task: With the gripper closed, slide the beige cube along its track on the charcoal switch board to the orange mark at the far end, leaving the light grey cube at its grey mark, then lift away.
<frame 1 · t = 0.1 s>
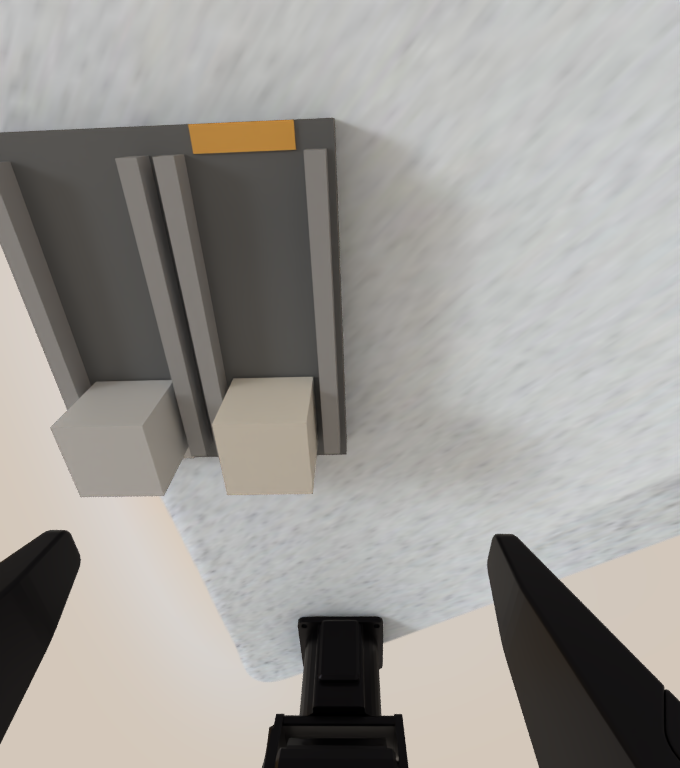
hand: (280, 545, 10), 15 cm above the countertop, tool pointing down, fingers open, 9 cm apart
switch board: (201, 310, 22), on the countertop
light grey cube: (128, 436, 22), point 4 cm above the countertop, slide at 0.0 cm
beige cube: (271, 433, 22), point 4 cm above the countertop, slide at 0.0 cm
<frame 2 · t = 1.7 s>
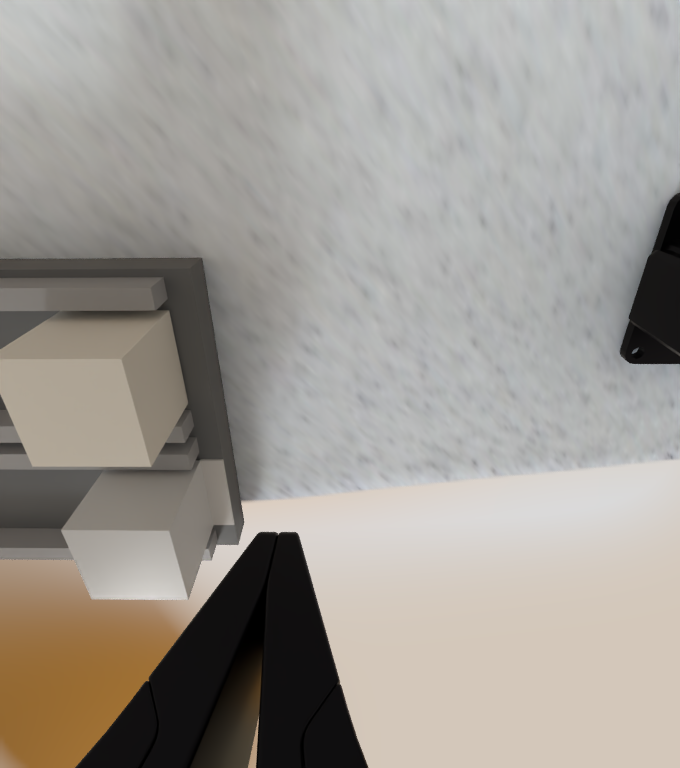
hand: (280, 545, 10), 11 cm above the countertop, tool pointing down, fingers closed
switch board: (53, 412, 21), on the countertop
light grey cube: (147, 527, 19), point 4 cm above the countertop, slide at 0.0 cm
beige cube: (103, 384, 16), point 4 cm above the countertop, slide at 0.0 cm
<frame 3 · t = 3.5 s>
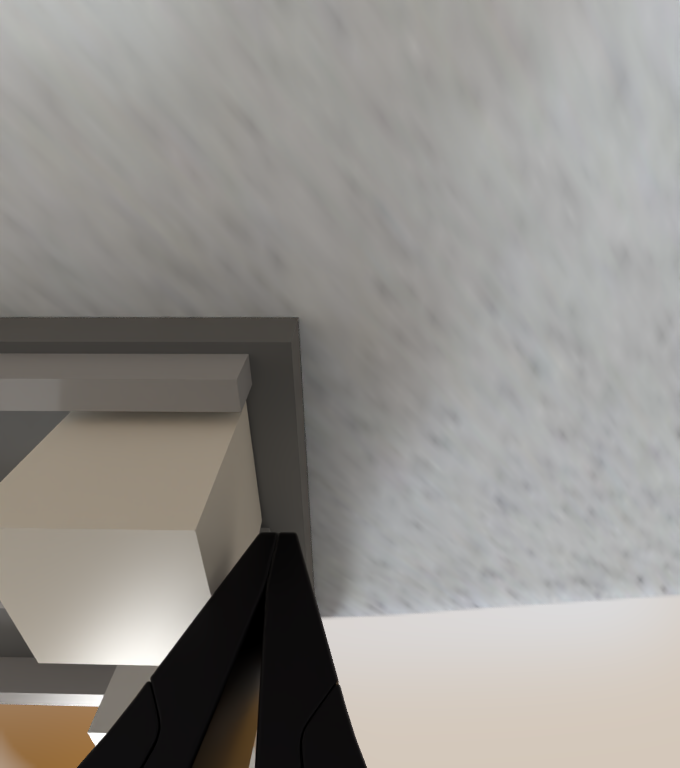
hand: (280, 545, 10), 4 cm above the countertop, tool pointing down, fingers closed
switch board: (72, 513, 15), on the countertop
light grey cube: (205, 688, 14), point 4 cm above the countertop, slide at 0.0 cm
beige cube: (149, 522, 10), point 4 cm above the countertop, slide at 0.2 cm, touching gripper
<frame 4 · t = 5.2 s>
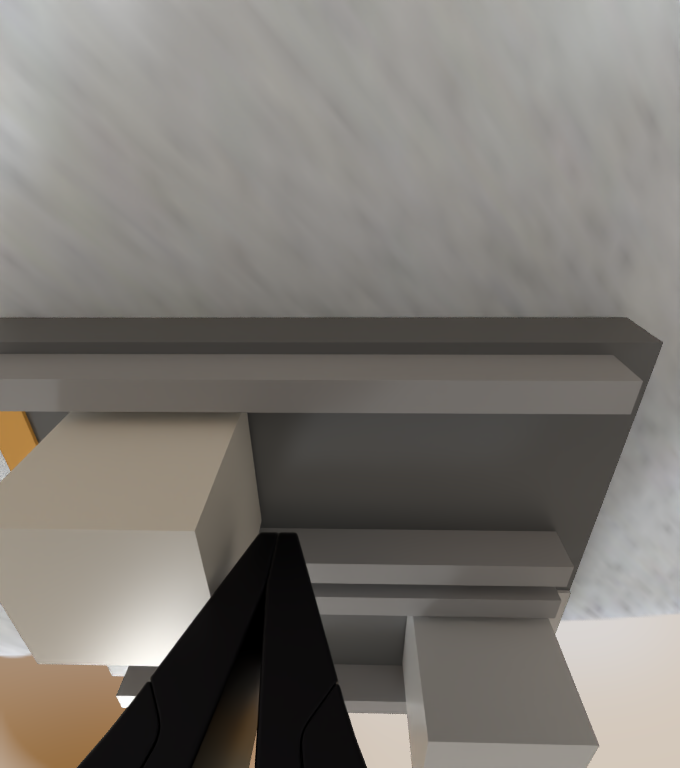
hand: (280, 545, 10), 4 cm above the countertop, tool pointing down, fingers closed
switch board: (316, 517, 15), on the countertop
light grey cube: (480, 695, 13), point 4 cm above the countertop, slide at 0.0 cm
beige cube: (148, 523, 10), point 4 cm above the countertop, slide at 8.4 cm, touching gripper
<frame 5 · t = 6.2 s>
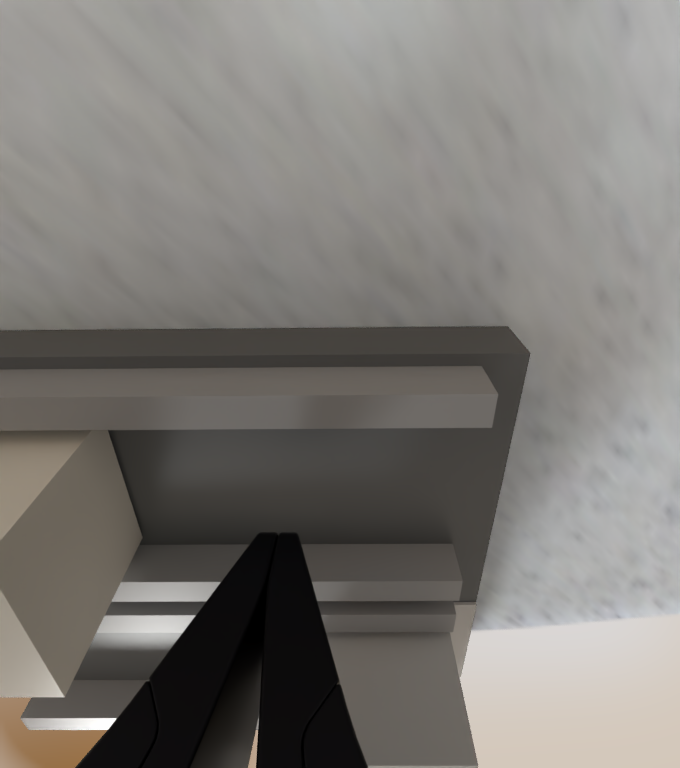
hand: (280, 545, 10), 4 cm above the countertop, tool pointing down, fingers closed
switch board: (221, 530, 15), on the countertop
light grey cube: (381, 711, 13), point 4 cm above the countertop, slide at 0.0 cm
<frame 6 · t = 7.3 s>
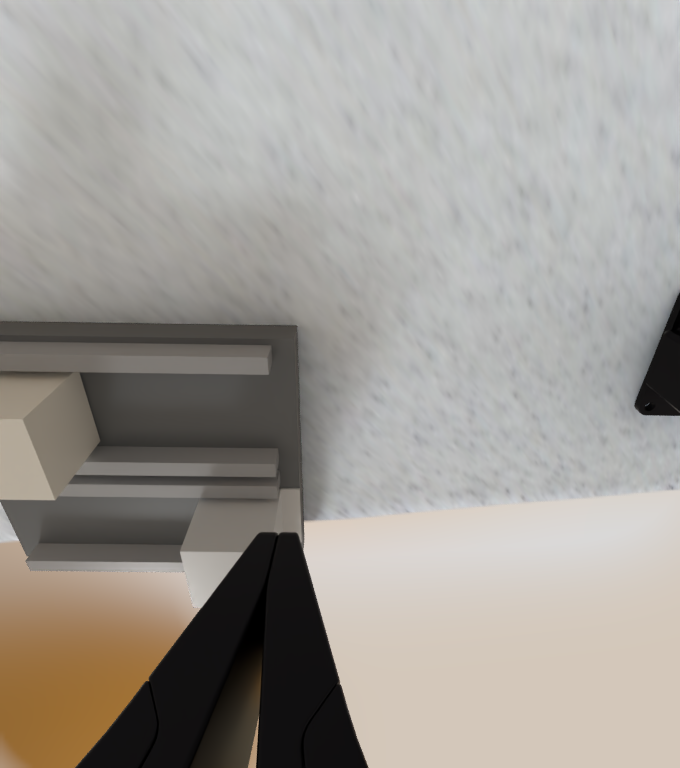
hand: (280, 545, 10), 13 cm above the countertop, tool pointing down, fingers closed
switch board: (151, 445, 24), on the countertop
light grey cube: (238, 546, 23), point 4 cm above the countertop, slide at 0.0 cm
beige cube: (19, 431, 19), point 4 cm above the countertop, slide at 8.6 cm
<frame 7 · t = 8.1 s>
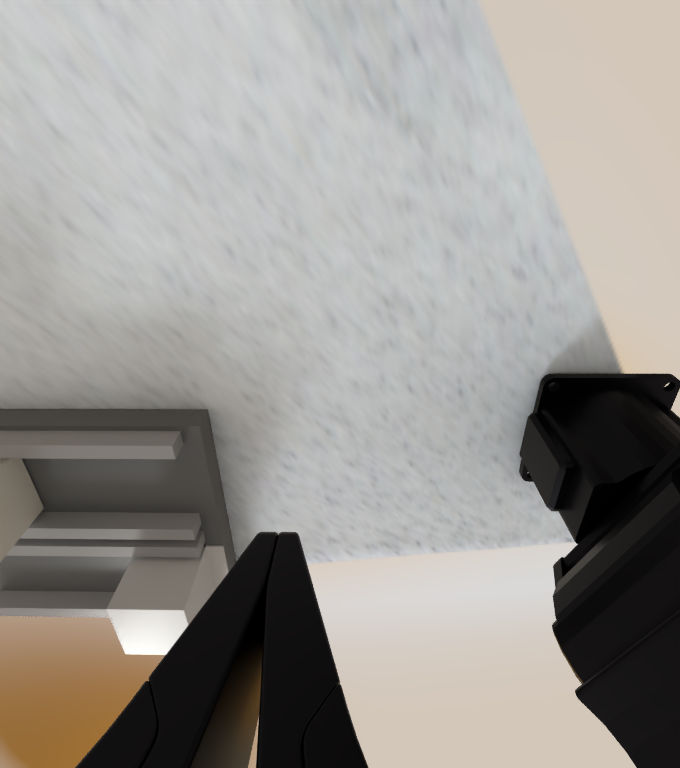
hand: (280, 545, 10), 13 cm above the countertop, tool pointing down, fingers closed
switch board: (94, 506, 27), on the countertop
light grey cube: (166, 598, 26), point 4 cm above the countertop, slide at 0.0 cm
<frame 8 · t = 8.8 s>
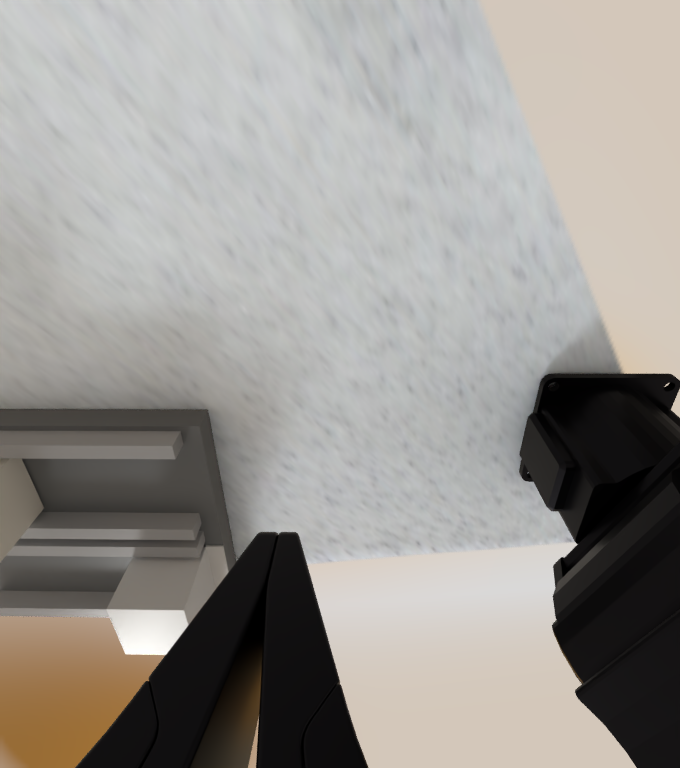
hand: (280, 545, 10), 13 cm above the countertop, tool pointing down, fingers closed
switch board: (94, 506, 27), on the countertop
light grey cube: (166, 598, 26), point 4 cm above the countertop, slide at 0.0 cm
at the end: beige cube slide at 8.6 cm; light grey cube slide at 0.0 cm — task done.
